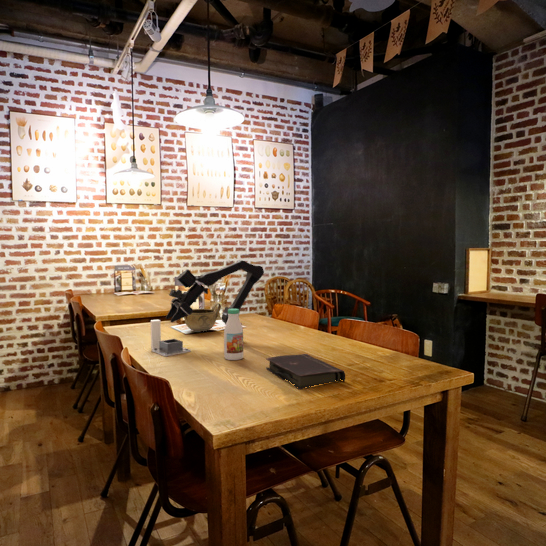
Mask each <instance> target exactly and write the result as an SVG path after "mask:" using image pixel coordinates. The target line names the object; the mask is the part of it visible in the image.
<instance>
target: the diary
mask: <svg viewBox="0 0 546 546" xmlns="http://www.w3.org/2000/svg"><path fill="white" fill-rule="evenodd" d="M265 359H266V360H267V361H268V362H269V367H267V366H266V367H265V369H266V370H267V371H268V372H269V373H271V372H272V373H271V374H272V375H274V374H275V376H276V375H277V377H278V378H280V379H281V380H282V381H284V380H285V379H286V380H288V381H290V382H291V383H292V384H295V385H294V386H295V387H298V389H297V390H299V389H300V390H304V389H303V388H305V387H307V388H306V389H310V387H311V386H314V385H319V384H324V383H329V382H335V380H336V381H338V382H339V381H340V379H341V380H343V381H344V382H345V381H346V373H345V370H343V369H340V368H338V367H335V366H333V365H331V364H329V363H327V362H325V361H323V360H321V359H318V358H315V357H313V356H311V355H309V354H307V353H302V354H288V355H287V354H286V355H277V356H271V357H267V358H265ZM335 383H336V382H335ZM329 384H330V383H329ZM324 385H325V384H324ZM294 386H293V387H294ZM309 386H310V387H309ZM295 387H294V388H295Z"/></svg>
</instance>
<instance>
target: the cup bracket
mask: <svg viewBox="0 0 546 546" xmlns="http://www.w3.org/2000/svg"><path fill="white" fill-rule="evenodd" d="M151 352H153V353H155V354H157V355H160V356H163V357H170V356H175V355H180V354H182V355H183V354H186V353H191V349H189V348H187V347H184V343H183V341H182V340H180V339H177V338H171V339H164V340H161V341H159V348H154V349H152V348H151Z"/></svg>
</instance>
